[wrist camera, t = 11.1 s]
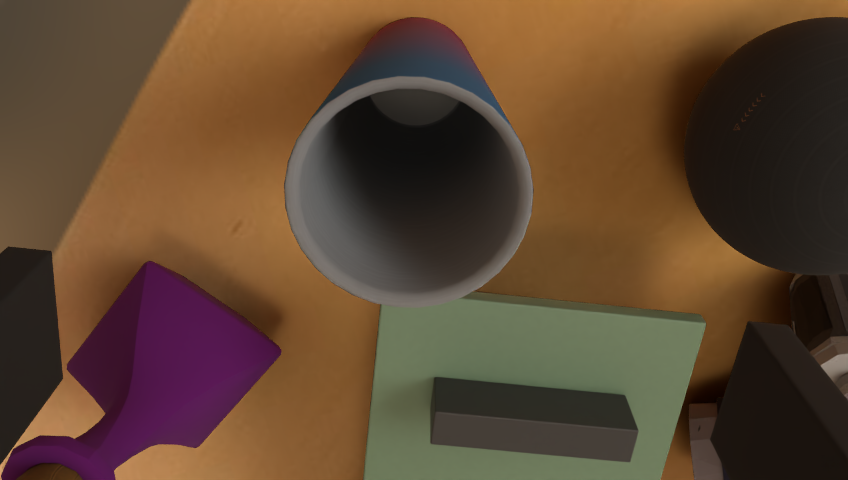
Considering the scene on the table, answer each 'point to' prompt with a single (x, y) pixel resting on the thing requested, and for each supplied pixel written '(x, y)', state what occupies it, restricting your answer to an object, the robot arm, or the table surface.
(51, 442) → the perfume bottle
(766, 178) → the speaker
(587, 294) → the table surface
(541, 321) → the sliding lid
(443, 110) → the cup
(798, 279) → the camera
